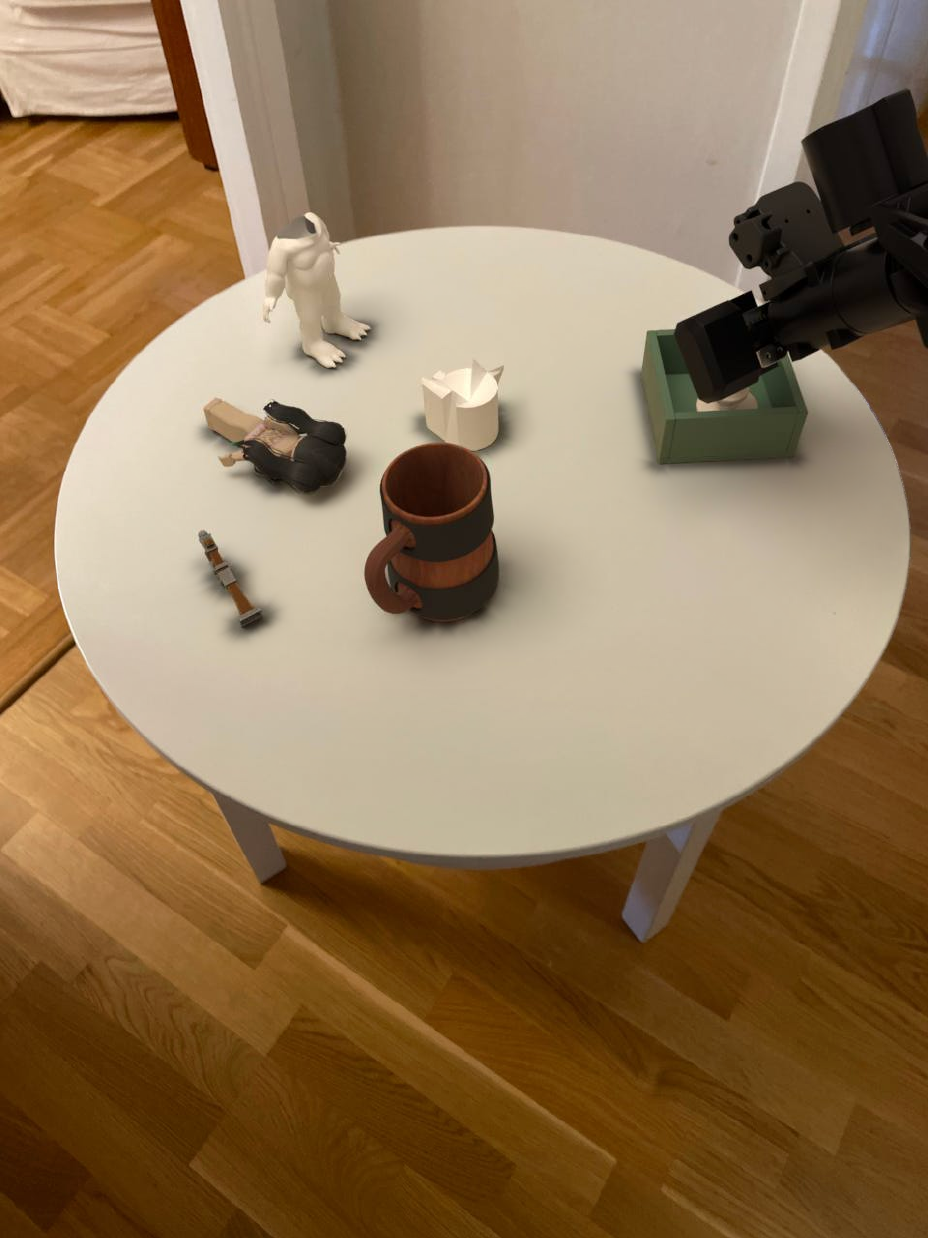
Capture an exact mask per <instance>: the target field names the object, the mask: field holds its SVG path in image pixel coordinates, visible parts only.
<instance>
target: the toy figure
mask: <svg viewBox="0 0 928 1238" xmlns="http://www.w3.org/2000/svg"><path fill="white" fill-rule="evenodd" d="M271 400H272V401H271ZM202 410H203V413H204V417H205V421H206V424H207V427H208V429H209V430H212V431H215V432H216V433H218V434H219V435H221V436H222V437H224V438H226V439H228V440H229V441H230V443H229V444H228V445H229V446H233V447H234V446H237V447H238V446H241V447H242V450H239V451H235V452H233V453H231V452H230V451H226V452H225V454H224V455H223V456H221V455H218V456H217V459H218V460H219V461H220V463H221V464H222V466H223V467H225V468H231V467H234V465H235V464H236V462H245V461H247V462H250V463H251V464H253V467H254V468H253V469H254V471H255V472H256V473H257V474H256V473H254V475H255V476H257V477H260V478H262V476H261V475H263V478H264V479H266V480H267V481H268V482H269V483H270V484H272V485H275V486H276V485H279V484H281V483H282V484H283V483H284V484H287V485H289V486H290V488H292V489H293V490H294V491H295V492H297V494H300V495H304V496H306V495H307V496H308V495H312V494H315V493H316V492H317V491H319V489H320V488H321V487H323V488H327V487H333V486H334V485H335V484H336V483H337V482H338V481H339V479H340V477H341V475H342V473H343V471H344V470H345V468H346V466H347V449H346V446H345V444H346V442H347V436H348V435H347V433H348V432H347V430H346V429H345V427H343V425H342V424H340V423H339V422H337V421H336V422H335V421H328V420H324V419H319V420H318V419H317V418H312V417H311V416H310V415H309V414H308V413H307V411H305V410H304V409H301V407H296V406H290V405H286V404H283V403H280V402H278V401H276V400H275V399H272V398H271V399H269V402H268V403H267V405H264V406H263V408H262V411H264V413H265V416H264V417H263V418H264V419H262V418H260V417H259V416H257V415H254V414H250V413H246V412H243V411H242V410H240V409H239V408H237V407H236V406H234V405H233V404H230V403H229V402H228V401H226V400H222V398H218V397H214V398H213V399H211V400H210V401H209V402H208V403H207V404H206V405H204V407H203V409H202ZM301 435H302V436H301ZM258 474H259V475H258ZM300 492H301V493H300ZM304 493H305V494H304Z"/></svg>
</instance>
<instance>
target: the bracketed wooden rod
mask: <svg viewBox="0 0 928 1238" xmlns="http://www.w3.org/2000/svg"><path fill="white" fill-rule="evenodd" d="M197 536H198V541H199V543H200V544H201V546H202V548H203V550H204V555H205V557H206V559H207V561H208V562H209V563H213V564H212V567H213V568H214V569H213V571H212V572H213V575H214V576H217V578H218V580H219V583H220V586H223V587H224V588H225V590H228V592H229V594H230V595H231V598H232V600H233V602H234V603H235V604H234V605H235V606H236V608H237V611H238V612H239V616H238V623H239V624H240V628H242V627H244V626H247V625H249V624H250V623H251V622H253V621H256V620H257V619H260V618H261V617H262V616H263V613H262V609H260V607H259V606H256V607H255V606H253V604H252V603H251V602H250V600H249V599H248V597H246V595H245V594H244V593H243V591H242V590H241V589H240V587H239V585H238V582H237V579H236V578H235V577H234V575H233V573H232V570H231V569H230V567H229V565H228V563H227V561H224V559H223V557H222V555H221V554H220V552H219V546H218V545H217V544H216V542H215V540H214V538H213V536H212V534H211V533H210V532H209V533H208V532H207V531H206V530H204V529H201V530H200V531H199V532H198V534H197Z"/></svg>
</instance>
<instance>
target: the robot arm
mask: <svg viewBox="0 0 928 1238" xmlns="http://www.w3.org/2000/svg"><path fill="white" fill-rule="evenodd" d="M917 113H918V112H917V108H916V104H915V101H914V98H913V95H912V92H911V89H910V88H908V87H905V88H903V89H901V90H898V91H896V92H893V93H891V94H888V95H885V96H884V97H883V96H882V97H881V98H880V99H878V100H877V101H875V102H873V103H872V104H870V105H868V106H866V107H863V108H862V109H860V110H858V111H856V112H853V113H852V114H849V115H846V116H844V117H842V118H840V119H839V118H838V119H837V120H833V121H832V122H830V123H827V124H824V125H822V126H820V127H819V128H817V129H816V130H814V131H812V132H811V133H809V134H808V135H806V136H805V137H804V138H803V139H801V141H800V144H801V147H802V149H803V152H804V156H805V158H806V161H807V165H808V167H809V170H810V174H811V177H812V179H813V182H814V185H815V187H816V191H817V194H818V195H817V194H816V192H815V191H814V190H813V188H812V187H811V186H810V185H809V184H808V183H806V182H804V181H799V180H798V181H793V182H791V183H789V184H786V185H784V186H782V187H779V188H777V189H775V190H772V191H770V192H768V193H765V194H763V195H761V196H760V197H759V198H758V199H757V201H756V202H755V204H753V205H751V206H750V207H747V208H746V210H745V211H744V212H742V213H740V214H738V215H735V216H734V218H733V229H732V231H730V233H729V234H728V245H729V247H730V249H731V250H732V252H733V253H734V255H735V256H736V258H737V259H738V261H739V262H740V264H741V266H742V267H743V268H744V269H745V270H752V269H754V268H758V267H759V268H760V269H761V270H762V272H763V273H764V274H765V275H766V276H768V277H770V279H767V280H766V281H763V282H762V283H760V284H758V288H759V290H760V293H761V296H762V299H763V301H764V302H765V303H762V304H760V305H758V303H757V300H756V297H755V295H754V292H753V290H752V289H751V290H748V291H746V292H744V293H742V294H739V295H738V296H735V297H733V298H731V299H727V300H725V301H722V302H720V303H718V304H715V305H714V306H711V307H709V308H707V309H705V310H702V311H700V312H698V313H696V314H693V315H691V316H690V317H687V318H685V319H683V320H680V321H678V322H677V323H676V325H675V328H674V329H675V331H674V336H675V338H676V341H677V344H678V346H679V349H680V351H681V354H682V357H683V359H684V362H685V365H686V367H687V370H688V372H689V375H690V378H691V380H692V383H693V386H694V388H695V391H696V394H697V396H698V399H699V400H701V401H703V402H705V403H707V404H709V403H712V402H716V401H720V400H723V399H725V398H727V397H729V396H731V395H733V394H735V393H737V392H739V391H741V390H743V389H745V388H747V387H749V386H751V385H753V384H755V383H757V382H758V380H759V376H761V375H763V374H765V373H767V372H769V371H771V370H773V369H775V368H777V367H779V364H778V361H780V360H782V359H784V358H785V357H786V356H787V353H788V356H789V359H790V361H791V363H794V362H797V361H801V360H803V359H805V358H807V357H809V356H811V355H813V354H815V353H817V352H819V351H821V350H823V349H825V348H828V347H830V349H831V351H835V350H837V349H840V348H844V347H845V346H848V345H850V344H851V343H853V342H855V341H857V340H859V339H861V338H864V337H865V336H867V335H870V334H871V335H872V334H875V333H877V332H881V331H884V330H886V329H890V328H894V327H897V326H900V325H904V324H906V323H909V322H913V321H915V324H916V326H917V329H918V332H919V335H920V339H921V341H922V346H924V348H925V349H927V350H928V153H927V150H926V147H925V144H924V140H923V136H922V134H921V130H920V127H919V123H918V114H917ZM872 228H873V230H874V231H875V232H872V233H869V234H868V235H866V236H863V237H861V238H858V239H856V240H854V241H852V242H850V243H847V244H844V241H843V239H842V237H841V235H840V234H839V232H842V231H844V230H846V229H848V232H849V234H850V237H854V236H856V235H858V234H861V233H863V232H865V231H867V230H870V229H872Z"/></svg>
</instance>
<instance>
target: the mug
mask: <svg viewBox="0 0 928 1238" xmlns="http://www.w3.org/2000/svg"><path fill="white" fill-rule="evenodd" d="M491 478H492V477H491V474H490V470H489V467H488V466H487V464H486V463H485V462H484V461H483V460H482V459H481V458H480V457H479V456H478V455H477V454H475V453H474V451H470V450H468V449H466V448H464V447H462V446H459V445H455V444H450V443H446V442H429V443H428V442H427V443H423V444H420V445H416V446H413V447H411V448H409V449H406V450H404V451H403V452H402V453H400V454H399V455H397V456H396V457H394V459H393V460H391V462H390V463H389V465H388V466H387V467H386V469H385V471H384V472H383V474H382V477H381V479H380V483H379V496H380V503H381V511H382V521H383V522H382V523H383V531H384V533H385V536H384V537H383V538H382V539H381V540H379V542H378V543H377V544H376V545H374V547H372V549H371V550H370V552H369V554H368V556H367V558H366V560H365V564H364V569H363V570H364V572H363V574H364V581H365V586H366V589H367V591H368V594H369V596H370V597H371V599H372V600H373V602H374V603H375V604H376V605H377V606H378V607H379V608H380V609H381V610H382V611H384V612H385V613H388V614H392V615H400V614H403V613H405V612H407V611H408V612H409V613H412V614H414V615H416V616H417V617H420V618H422V619H424V620H428V621H429V620H430V621H434V622H452V621H456V620H460V619H463V618H466V617H468V616H470V615H472V614H474V613H475V612H476V611H479V610H480V609H482V607H484V606H485V605H486V604H487V603H488V602H489V601H490V600H491V598H492V597H493V595H494V594H495V592H496V589H497V587H498V583H499V580H500V579H499V578H500V577H499V576H500V566H499V565H500V564H499V563H500V562H499V553H498V547H497V546H498V545H497V540H496V536H495V533H494V531H493V528H494V527H493V526H494V524H495V512H494V505H493V495H492V494H493V493H492V479H491ZM386 568H387V574H388V580H387V575H386ZM388 581H389V582H388Z"/></svg>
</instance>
